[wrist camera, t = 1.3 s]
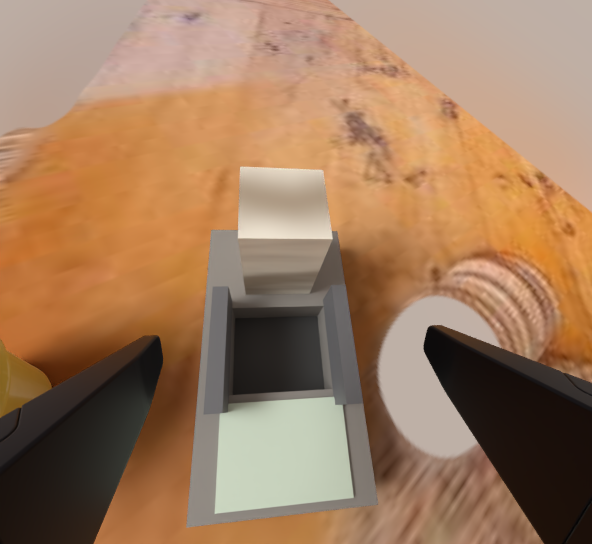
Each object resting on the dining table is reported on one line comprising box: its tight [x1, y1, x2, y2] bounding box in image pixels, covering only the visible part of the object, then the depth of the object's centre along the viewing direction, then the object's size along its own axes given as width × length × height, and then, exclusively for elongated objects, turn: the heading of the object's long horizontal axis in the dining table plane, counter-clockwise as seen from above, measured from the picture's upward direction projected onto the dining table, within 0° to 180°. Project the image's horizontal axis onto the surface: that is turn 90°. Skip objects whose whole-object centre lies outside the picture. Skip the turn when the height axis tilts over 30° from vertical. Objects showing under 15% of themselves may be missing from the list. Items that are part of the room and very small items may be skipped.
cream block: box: [238, 167, 333, 295], centre depth 19 cm, size 5×5×8 cm
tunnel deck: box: [186, 230, 378, 527], centre depth 20 cm, size 20×11×6 cm, turn 3°
